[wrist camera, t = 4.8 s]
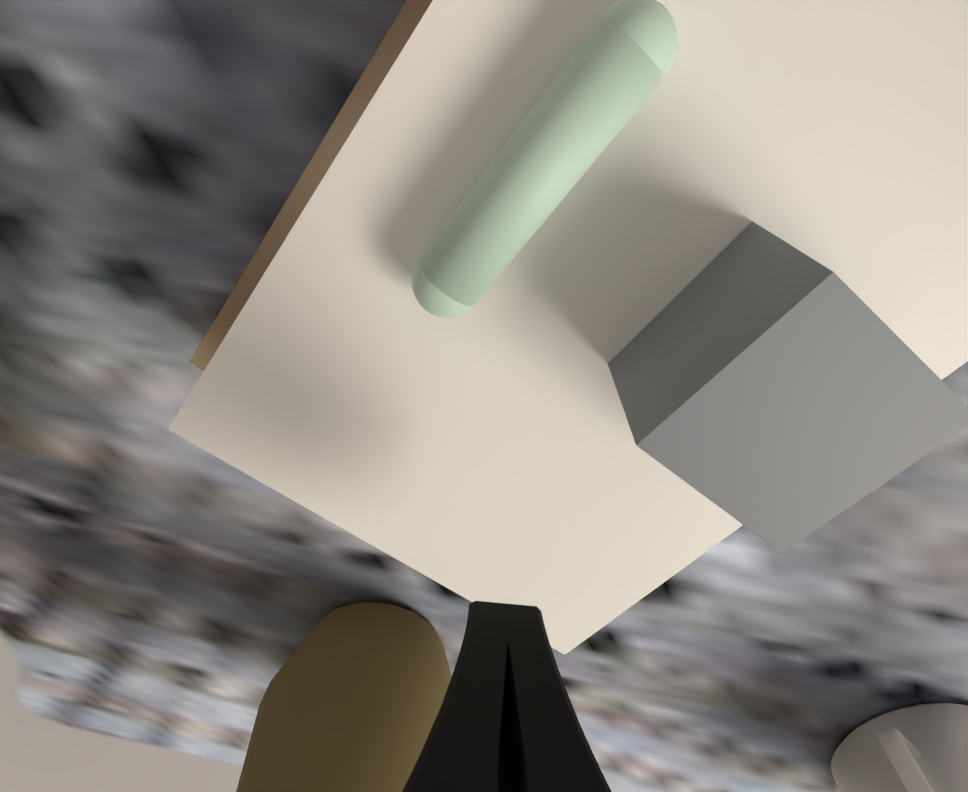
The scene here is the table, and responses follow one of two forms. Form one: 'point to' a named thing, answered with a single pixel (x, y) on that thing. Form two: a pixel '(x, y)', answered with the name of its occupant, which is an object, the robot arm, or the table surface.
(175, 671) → the table surface
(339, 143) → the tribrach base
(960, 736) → the mug
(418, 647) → the squeeze bottle
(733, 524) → the level plate
